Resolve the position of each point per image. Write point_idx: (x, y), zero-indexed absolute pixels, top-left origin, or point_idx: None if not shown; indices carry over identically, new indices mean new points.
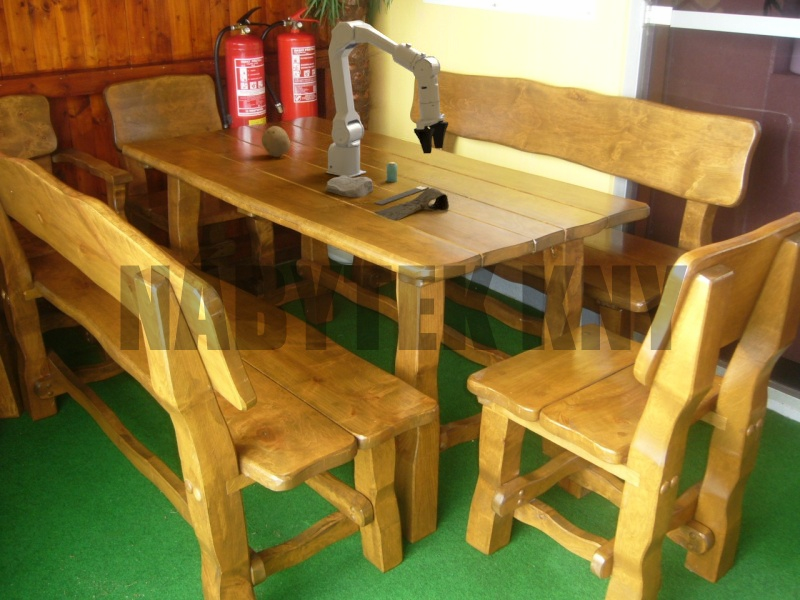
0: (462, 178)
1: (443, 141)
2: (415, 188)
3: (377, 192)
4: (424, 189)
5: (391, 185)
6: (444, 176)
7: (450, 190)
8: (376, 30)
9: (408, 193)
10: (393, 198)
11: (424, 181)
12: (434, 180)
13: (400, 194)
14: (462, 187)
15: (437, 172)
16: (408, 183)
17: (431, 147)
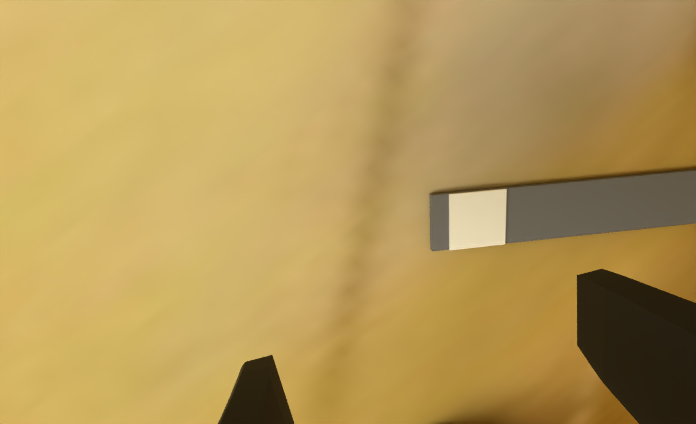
0: (22, 198)
1: (226, 413)
2: (507, 238)
3: None
4: (479, 190)
5: (514, 387)
6: (93, 321)
7: (366, 52)
8: None
9: (626, 193)
10: None
11: (305, 324)
12: (235, 298)
13: (671, 212)
14: (234, 35)
15: (49, 417)
16: (414, 355)
17: (632, 297)
